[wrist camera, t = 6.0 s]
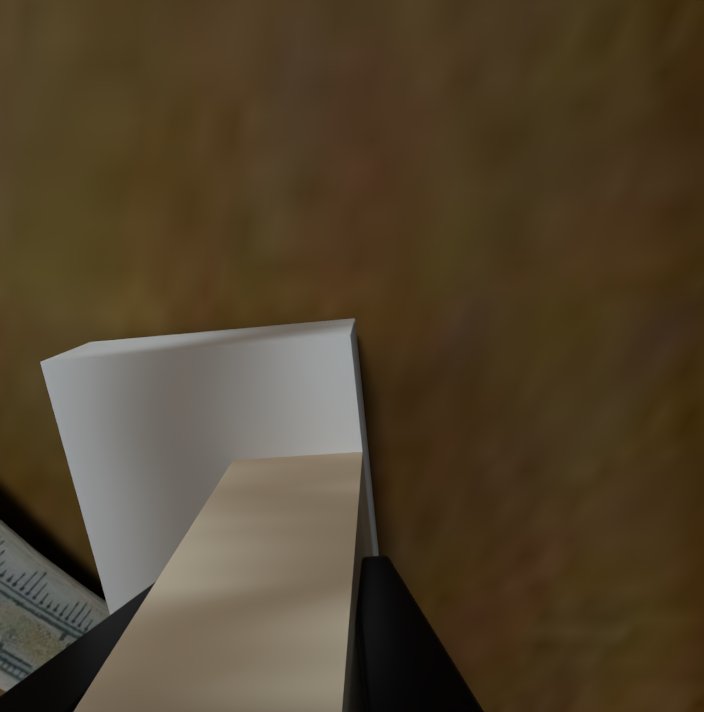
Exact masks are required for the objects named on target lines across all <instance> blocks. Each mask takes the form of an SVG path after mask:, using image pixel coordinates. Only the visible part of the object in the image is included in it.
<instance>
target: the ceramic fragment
mask: <svg viewBox="0 0 704 712" xmlns="http://www.w3.org/2000/svg"><path fill="white" fill-rule="evenodd" d="M108 616H110V613H109V609H108V605H107V602H106V601H105V600H103V599H102V598H100V597H99V596H97V595H96V594H94V593H93V592H92V591H90V590H89V589H87V588H86V587H85V586H83V585H82V584H81V583H79V582H78V581H77V580H75V579H74V578H72V577H71V576H70V575H68V574H67V573H66V572H64V571H63V570H62V569H60V568H59V567H58V566H56V565H55V564H54V563H52V562H51V561H50V560H48V559H47V558H46V557H44V556H43V555H42V554H40V553H39V552H38V551H37V550H35V549H34V548H33V547H32V546H31V545H30V544H28V543H27V542H26V541H25V540H24V539H23V538H22V537H20V536H19V535H18V534H17V533H16V532H14V531H13V530H12V529H11V528H10V527H8V526H7V525H6V524H5V523H4V522H3V521H2V520H0V689H2V690H4V691H8V690H9V689H10V688H12V687H13V686H15V685H16V684H17V683H19V682H20V681H21V680H23V679H24V678H25V677H27V676H28V675H29V674H31V673H32V672H34V671H35V670H36V669H38V668H39V667H40V666H42V665H43V664H44V663H46V662H47V661H49V660H50V659H51V658H53V657H54V656H55V655H57V654H58V653H59V652H61V651H62V650H63V649H65V648H66V647H68V646H69V645H70V644H72V643H73V642H74V641H76V640H77V639H78V638H80V637H81V636H82V635H84V634H85V633H87V632H88V631H89V630H91V629H92V628H93V627H95V626H96V625H97V624H99V623H100V622H101V621H103V620H104V619H106V618H107V617H108Z"/></svg>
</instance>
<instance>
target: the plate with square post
mask: <svg viewBox="0 0 704 712" xmlns="http://www.w3.org/2000/svg"><path fill="white" fill-rule="evenodd" d="M40 363H41V367H42V370H43V374H44V378H45V381H46V385H47V389H48V392H49V396H50V399H51V403H52V407H53V410H54V414H55V417H56V421H57V425H58V428H59V432H60V436H61V439H62V443H63V446H64V450H65V454H66V457H67V461H68V464H69V468H70V472H71V475H72V479H73V483H74V486H75V490H76V493H77V497H78V501H79V504H80V508H81V511H82V515H83V519H84V522H85V526H86V530H87V533H88V537H89V540H90V544H91V548H92V551H93V555H94V558H95V562H96V566H97V569H98V573H99V577H100V580H101V584H102V587H103V591H104V595H105V598H106V602H107V605H108V609H109V613H110V615H111V614H112V613H114V612H115V611H116V610H118V609H119V608H120V607H122V606H123V605H125V604H126V603H127V602H129V601H130V600H131V599H133V598H134V597H135V596H137V595H138V594H139V593H141V592H142V591H144V590H145V589H146V588H148V587H149V586H150V585H152V584H153V583H154V582H155V584H154V586H153V587H152V589H151V590H150V592H149V593H148V595H147V597H146V598H145V600H144V601H143V603H142V605H141V606H140V608H139V609H138V611H137V612H136V614H135V616H134V617H133V619H132V620H131V622H130V623H129V625H128V627H127V628H126V630H125V631H124V633H123V634H122V636H121V638H120V639H119V641H118V642H117V644H116V646H115V647H114V649H113V650H112V652H111V653H110V655H109V657H108V658H107V660H106V661H105V663H104V664H103V666H102V668H101V669H100V671H99V672H98V674H97V675H96V677H95V679H94V680H93V682H92V683H91V685H90V687H89V688H88V690H87V691H86V693H85V694H84V696H83V698H82V699H81V701H80V702H79V704H78V705H77V707H76V709H75V710H74V712H366V709H365V701H364V692H363V683H362V674H361V665H360V656H359V648H358V639H357V630H356V610H357V600H358V590H359V581H360V571H361V562H362V558H364V557H367V556H379V551H378V541H377V531H376V521H375V511H374V501H373V492H372V482H371V472H370V462H369V452H368V442H367V432H366V422H365V413H364V403H363V393H362V383H361V373H360V363H359V353H358V343H357V334H356V324H355V318H353V319H342V320H331V321H320V322H309V323H298V324H286V325H275V326H264V327H253V328H242V329H231V330H220V331H209V332H198V333H187V334H175V335H164V336H153V337H142V338H131V339H120V340H109V341H98V342H90V343H87V344H85V345H82V346H79V347H77V348H74V349H72V350H69V351H67V352H64V353H62V354H59V355H57V356H54V357H52V358H49V359H46V360H44V361H41V362H40Z"/></svg>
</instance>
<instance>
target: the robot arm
mask: <svg viewBox="0 0 704 712" xmlns="http://www.w3.org/2000/svg"><path fill="white" fill-rule="evenodd" d="M154 584H155V582H154V583H153V584H152V585H150V586H149V587H148V588H146V589H145V590H144V591H142V592H141V593H139V594H138V595H137V596H135V597H134V598H133V599H131V600H130V601H129V602H127V603H126V604H125V605H123V606H122V607H120V608H119V609H118V610H116V611H115V612H114V613H112V614H111V615H110V616H108V617H107V618H106V619H104V620H103V621H101V622H100V623H99V624H97V625H96V626H95V627H93V628H92V629H91V630H89V631H88V632H87V633H85V634H84V635H82V636H81V637H80V638H78V639H77V640H76V641H74V642H73V643H72V644H70V645H69V646H68V647H66V648H65V649H63V650H62V651H61V652H59V653H58V654H57V655H55V656H54V657H53V658H51V659H50V660H49V661H47V662H46V663H44V664H43V665H42V666H40V667H39V668H38V669H36V670H35V671H34V672H32V673H31V674H29V675H28V676H27V677H25V678H24V679H23V680H21V681H20V682H19V683H17V684H16V685H15V686H13V687H12V688H10V689H9V690H8V691H6V692H5V693H4V694H2V695H1V696H0V712H74V710H75V709H76V707H77V705H78V704H79V702H80V701H81V699H82V698H83V696H84V694H85V693H86V691H87V690H88V688H89V687H90V685H91V683H92V682H93V680H94V679H95V677H96V675H97V674H98V672H99V671H100V669H101V668H102V666H103V664H104V663H105V661H106V660H107V658H108V657H109V655H110V653H111V652H112V650H113V649H114V647H115V646H116V644H117V642H118V641H119V639H120V638H121V636H122V634H123V633H124V631H125V630H126V628H127V627H128V625H129V623H130V622H131V620H132V619H133V617H134V616H135V614H136V612H137V611H138V609H139V608H140V606H141V605H142V603H143V601H144V600H145V598H146V597H147V595H148V593H149V592H150V590H151V589H152V587H153V586H154ZM356 630H357V639H358V648H359V656H360V665H361V674H362V683H363V692H364V701H365V709H366V712H484V711H483V710H482V708H481V706H480V705H479V703H478V702H477V700H476V698H475V697H474V695H473V693H472V692H471V690H470V689H469V687H468V685H467V684H466V682H465V680H464V679H463V677H462V676H461V674H460V672H459V671H458V669H457V667H456V666H455V664H454V663H453V661H452V659H451V658H450V656H449V655H448V653H447V651H446V650H445V648H444V646H443V645H442V643H441V642H440V640H439V638H438V637H437V635H436V633H435V632H434V630H433V629H432V627H431V625H430V624H429V622H428V620H427V619H426V617H425V616H424V614H423V612H422V611H421V609H420V607H419V606H418V604H417V603H416V601H415V599H414V598H413V596H412V595H411V593H410V591H409V590H408V588H407V586H406V585H405V583H404V582H403V580H402V578H401V577H400V575H399V573H398V572H397V570H396V569H395V567H394V565H393V564H392V562H391V560H390V559H389V558H388V557H387V556H367V557H364V558H362V562H361V571H360V581H359V590H358V600H357V610H356Z"/></svg>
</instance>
